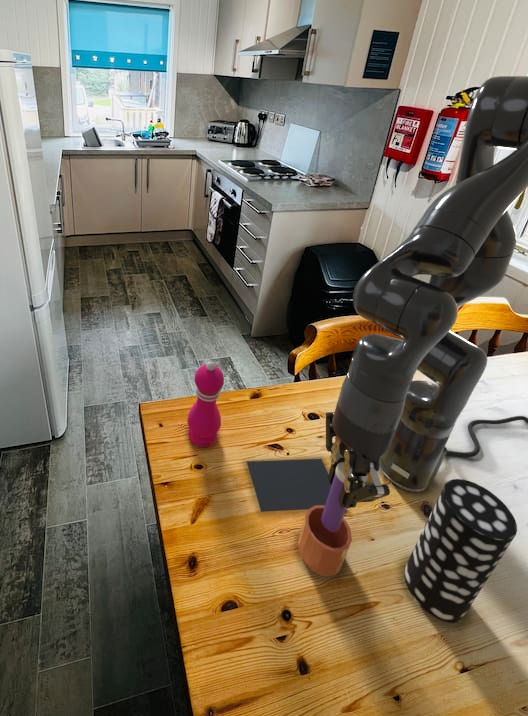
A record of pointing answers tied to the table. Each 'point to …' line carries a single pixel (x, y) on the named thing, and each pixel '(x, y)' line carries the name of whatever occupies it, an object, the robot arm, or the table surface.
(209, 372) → the pepper mill
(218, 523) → the table surface
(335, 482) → the glue stick
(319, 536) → the cup
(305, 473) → the mat
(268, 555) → the table surface
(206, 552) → the table surface
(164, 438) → the table surface
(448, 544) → the white-spotted black cylinder
